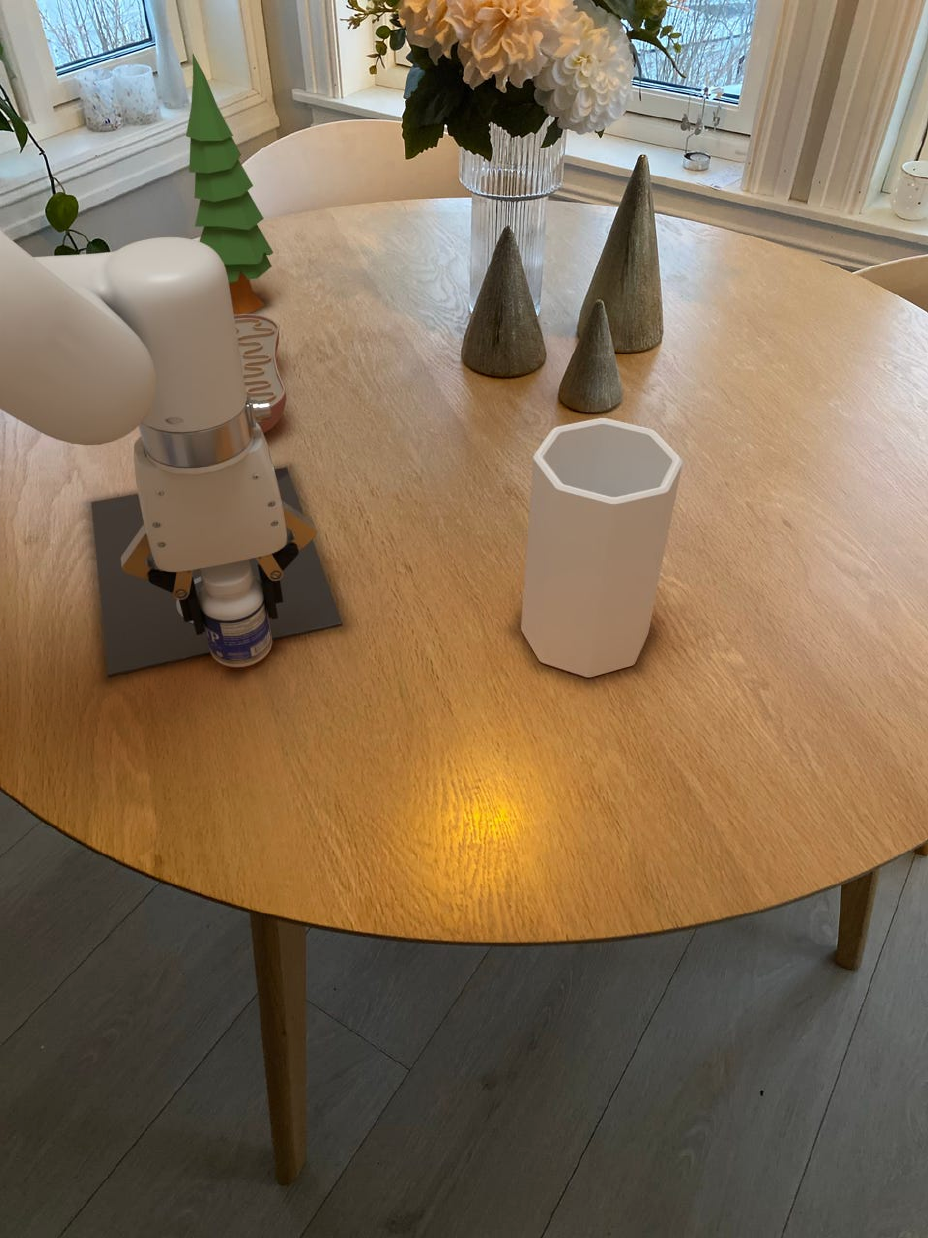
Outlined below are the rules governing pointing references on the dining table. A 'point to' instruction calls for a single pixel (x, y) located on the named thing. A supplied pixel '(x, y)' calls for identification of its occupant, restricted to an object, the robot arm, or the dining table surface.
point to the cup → (596, 543)
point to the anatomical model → (261, 363)
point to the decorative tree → (225, 198)
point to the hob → (152, 618)
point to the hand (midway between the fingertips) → (234, 614)
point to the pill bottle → (234, 614)
